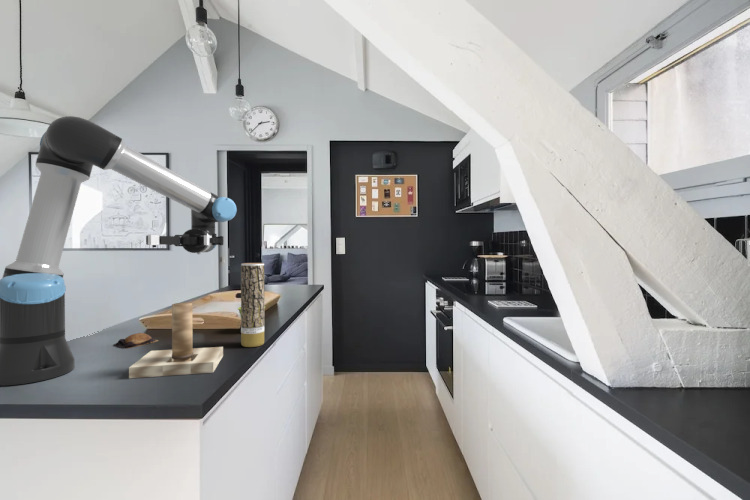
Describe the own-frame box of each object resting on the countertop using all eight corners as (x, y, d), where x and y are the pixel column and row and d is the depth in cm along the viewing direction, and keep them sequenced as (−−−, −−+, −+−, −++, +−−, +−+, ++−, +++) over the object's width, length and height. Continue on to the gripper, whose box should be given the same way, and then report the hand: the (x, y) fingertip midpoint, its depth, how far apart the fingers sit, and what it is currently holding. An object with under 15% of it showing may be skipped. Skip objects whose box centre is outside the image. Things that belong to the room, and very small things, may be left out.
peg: (169, 372, 90) (168, 305, 90) (174, 366, 95) (174, 302, 95) (190, 370, 91) (190, 305, 91) (195, 364, 96) (194, 302, 96)
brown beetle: (144, 340, 123) (144, 329, 123) (161, 342, 119) (161, 331, 119) (109, 347, 114) (109, 335, 114) (126, 351, 110) (126, 338, 110)
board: (129, 378, 86) (128, 367, 86) (150, 360, 99) (150, 350, 99) (213, 372, 90) (213, 362, 90) (223, 355, 103) (223, 346, 103)
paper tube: (268, 345, 115) (268, 263, 114) (246, 349, 110) (246, 264, 110) (258, 341, 120) (258, 262, 119) (237, 344, 115) (237, 263, 115)
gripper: (237, 252, 123) (227, 254, 102) (153, 252, 117) (125, 254, 97) (237, 229, 123) (227, 226, 102) (153, 228, 117) (124, 225, 97)
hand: (177, 239), depth 99 cm, fingers open, 13 cm apart
